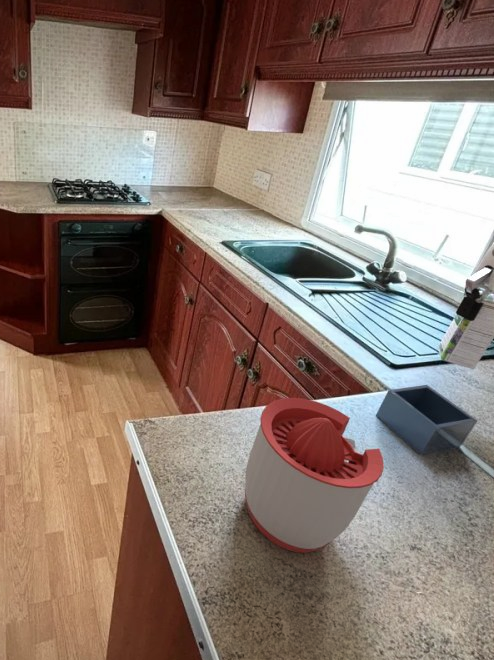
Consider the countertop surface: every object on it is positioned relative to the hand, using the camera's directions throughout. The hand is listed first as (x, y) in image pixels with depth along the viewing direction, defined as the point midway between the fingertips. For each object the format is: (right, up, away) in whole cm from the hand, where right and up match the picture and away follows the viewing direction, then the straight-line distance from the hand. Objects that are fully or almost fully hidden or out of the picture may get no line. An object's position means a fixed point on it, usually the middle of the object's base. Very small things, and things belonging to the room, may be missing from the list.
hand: (480, 315), depth 80 cm
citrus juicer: (-45, -30, -17) cm, 57 cm away
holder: (-10, -24, +3) cm, 26 cm away
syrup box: (-1, -9, +5) cm, 11 cm away
